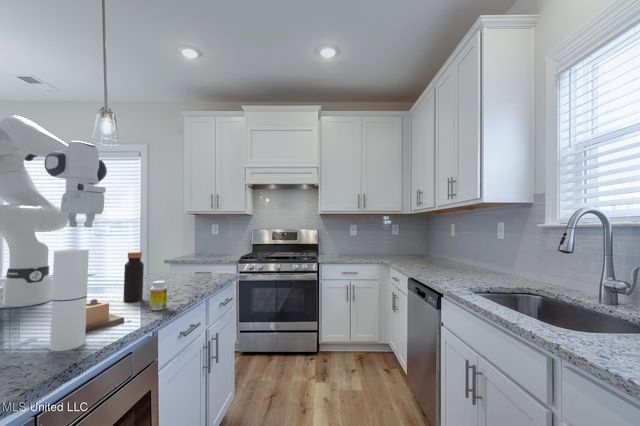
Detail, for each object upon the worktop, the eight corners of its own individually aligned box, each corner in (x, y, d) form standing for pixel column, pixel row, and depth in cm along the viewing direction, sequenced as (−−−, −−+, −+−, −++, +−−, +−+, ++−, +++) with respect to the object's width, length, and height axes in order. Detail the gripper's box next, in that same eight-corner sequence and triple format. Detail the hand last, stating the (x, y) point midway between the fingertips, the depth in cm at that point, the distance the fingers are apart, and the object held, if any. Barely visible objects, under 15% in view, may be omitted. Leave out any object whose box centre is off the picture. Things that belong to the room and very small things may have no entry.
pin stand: (60, 327, 92) (61, 300, 92) (102, 316, 103) (103, 292, 103) (81, 334, 87) (82, 306, 87) (123, 322, 98) (124, 297, 98)
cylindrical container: (55, 353, 74) (60, 252, 75) (45, 347, 78) (49, 250, 79) (89, 344, 80) (93, 250, 81) (78, 338, 84) (82, 249, 85)
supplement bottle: (165, 310, 111) (166, 282, 112) (148, 311, 109) (149, 283, 110) (167, 306, 116) (168, 279, 117) (151, 307, 115) (152, 280, 115)
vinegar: (131, 298, 128) (133, 251, 129) (146, 298, 127) (147, 251, 128) (119, 302, 121) (121, 252, 122) (134, 302, 120) (136, 253, 121)
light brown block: (74, 321, 93) (75, 305, 93) (97, 315, 99) (97, 300, 99) (86, 324, 90) (86, 308, 90) (108, 318, 96) (109, 303, 96)
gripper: (55, 187, 106) (54, 226, 106) (88, 185, 97) (86, 227, 97) (76, 189, 112) (74, 226, 111) (108, 187, 103) (107, 227, 102)
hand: (80, 227), depth 104 cm, fingers open, 8 cm apart
